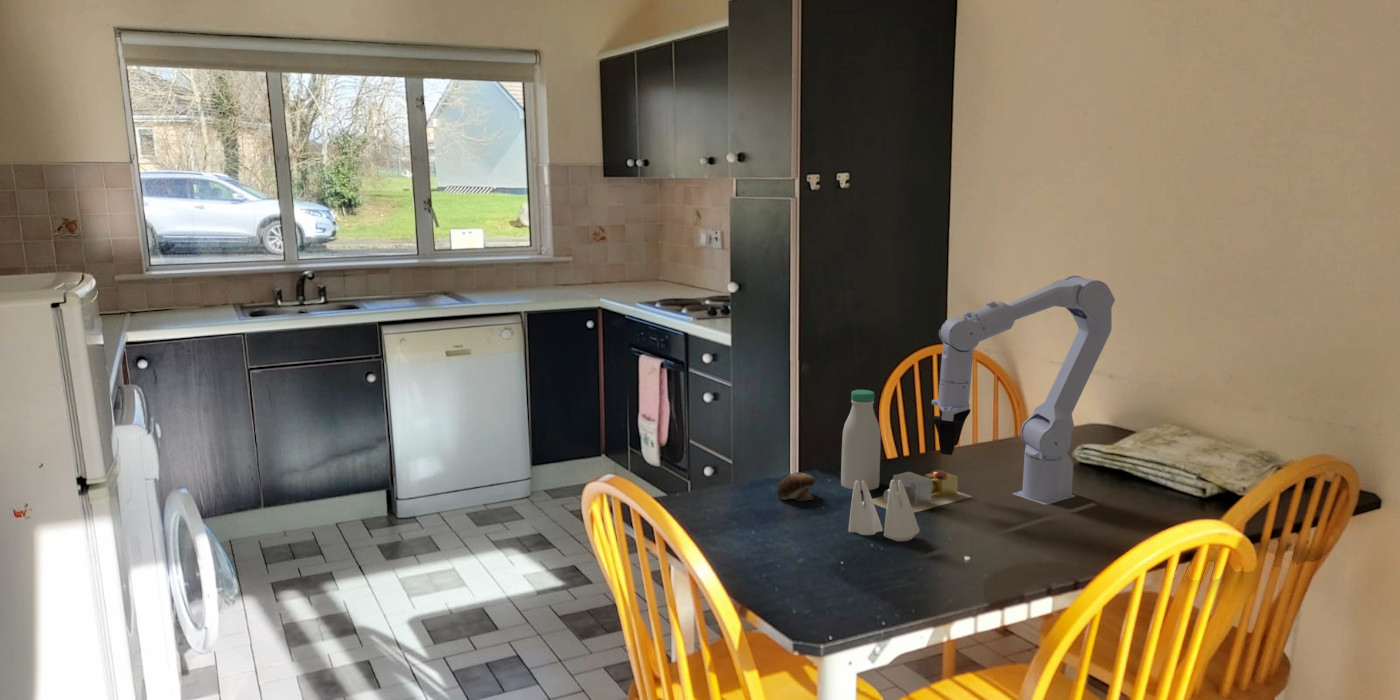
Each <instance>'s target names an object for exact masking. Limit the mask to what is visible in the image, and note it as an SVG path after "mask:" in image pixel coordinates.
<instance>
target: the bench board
mask: <svg viewBox="0 0 1400 700" xmlns="http://www.w3.org/2000/svg"><path fill="white" fill-rule="evenodd" d="M972 497H973V496H971V495H969V494H966V493H963V492H961V491H957V494H955V495H952V496H948V497H944V498H939V497H937V496H934V495H931V503H928V504H925V505H921V506H917V507H914V506H911V507H912V510H913V513H914V514H915V513H918V512H921V511H926V510H929V509H932V508H936V507H941V506H943V505H948V504H952V503H954V502H959V501H962V500H966V499H970V498H972ZM872 500H873V503H874V506H875V505H876V506H878V507H880V508H883V509H887V504H886V502H885V501H884V498H883V495H881V496H878V497H874V498H872Z"/></svg>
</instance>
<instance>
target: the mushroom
mask: <svg viewBox="0 0 1400 700" xmlns="http://www.w3.org/2000/svg"><path fill="white" fill-rule="evenodd" d="M815 483H816V480H815V478H814V477H813V475H810V474H808V473H805V472H793V473H791V474H789V475H787V476H786V477H784V478H783V479H782V480H781V481H780V483H779V484H778V486H777V496H778V498H779V499H780V500H782V501H783V500H784V501H785V500H789V499H791V500H792V499H793V500H796V501H798V502H800V501H801V502H803V501H812V500H814V499H815V498H814V496H813V495H812V494H811V493H810V492H809V489H810V488H811V487H813V486H814V485H815Z"/></svg>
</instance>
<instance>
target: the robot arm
mask: <svg viewBox="0 0 1400 700" xmlns="http://www.w3.org/2000/svg"><path fill="white" fill-rule="evenodd" d="M1115 301H1116V299H1115V297H1114V295H1113V293H1112V291H1111V289H1110V287H1109V286H1108V284H1107V283H1105V282H1104V281H1102V280H1098V279H1096V280H1094V279H1091V278H1086V277H1083V276H1080V275H1069V276H1067V277H1065V278H1064V279H1058V280H1054V282H1052V283H1050V284H1048V285H1046V286H1044V287H1042V288H1040V289H1039V288H1038V289H1037V290H1036V291H1033V292H1031V293H1029V294H1027V295H1025V296H1023V297H1020V298H1018V299H1016V300H1014V301H1012V302H1009V303H1008V304H1007V303H1005V302H1002V301H994V300H990V301H987V302H986V306H983V307H981V308H979V309H976V310H974V311H968V310H967V311H965V312H963V315H962V317H958V316H952V317H949V318H948V319H946V320H945V321H944V323H942V325H941V327H940V329H939V330H938V336H939V339H940V340H941V342H942V354H941V361H940V362H941V363H940V373H939V376H940V377H939V386H938V398H937V399H932V400H931V405H932V406H936V407H937V408H938V409H939V410H940V413H941V416H940V415H934V416H933V419H932V421H933V424H934V426H935V428H936V432H937V437H938V445H939V452H940V455H946V456H952V455H953V453H954V451H955V447H956V446H958V444H959V443H960V438H961V434H962V431H963V427H964V425H965V422H966V419H967V418H968V416H969V414H970V413H971V409H970V393H971V392H970V391H971V383H972V382H971V381H972V371H973V370H972V369H973V361H974V360H973V356H974V350H975V349H976V348H977V346H978V345H979V343H980V342H982V341H984V340H987V339H990V338H992V337H995V336H997V335H999V334H1002V333H1005V332H1006V331H1009V330H1011V329H1012V328H1013V326H1014V324H1015V321H1017V320H1019V319H1022V318H1025V317H1028V316H1031V315H1033V314H1036V313H1038V312H1039V313H1040V312H1041V311H1044V310H1045V311H1046V310H1047V309H1050V308H1053V307H1060V308H1065V309H1066V310H1068V312H1069V313H1070V314H1071V315H1072V318H1073V319H1074V321H1075V323H1076V326H1077V327H1078V331H1077V333H1076V335H1075V337H1074V339H1073V341H1072V343H1071V346H1070V347H1069V350H1068V352H1067V354H1066V356H1065V358H1064V360H1063V363H1062V365H1061V367H1060V368H1059V369H1060V370H1059V371H1058V372H1057V375H1056V377H1055V380H1054V381H1053V384H1052V386H1051V388H1050V390H1049V392H1048V394H1047V396H1046V398H1045V400H1044V402H1043V403H1041V404H1039V405H1038V406H1037V407H1035V408H1034V410H1033V412H1032V414H1031V415H1030V416H1029V417H1028V418H1027V419H1025V421H1024V422H1022V425H1021V427H1020V438H1021V440H1022V441H1023V442H1024V444H1025V449H1024V458H1023V459H1024V460H1023V472H1022V473H1023V474H1022V475H1023V476H1022V489H1021V490H1019V491H1016V492H1013V493H1012V494H1013V495H1014V496H1018V497H1020V498H1024V499H1026V500H1029V501H1033V502H1035V503H1039V504H1042V505H1045V506H1047V505H1051V504H1054V503H1056V502H1060V501H1065V500H1067V499H1068V500H1069V499H1070V498H1071V499H1072V498H1074V497H1076V495H1075V494H1073V493H1072V491H1073V488H1072V487H1073V475H1074V464H1073V461H1072V458H1071V457H1070V456H1069V455H1068V454H1067V453H1068V452H1069V450H1070V448H1071V446H1072V434H1073V432H1074V429H1075V424H1074V418H1073V413H1074V410H1075V409H1076V406H1077V403H1078V402H1079V399H1080V397H1081V396H1082V393H1083V391H1084V389H1085V387H1086V385H1087V383H1088V381H1089V378H1090V377H1091V374H1092V372H1093V370H1094V368H1095V366H1096V364H1097V362H1098V360H1099V357H1100V355H1101V354H1102V351H1103V350H1104V347H1105V346H1106V343H1107V342H1108V338H1109V337H1110V335H1111V332H1112V318H1113V317H1112V312H1113V311H1112V308H1113V305H1114V303H1115Z"/></svg>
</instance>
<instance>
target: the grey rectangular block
mask: <svg viewBox="0 0 1400 700" xmlns="http://www.w3.org/2000/svg"><path fill="white" fill-rule="evenodd" d="M892 480H895V483H896V488H897V492H898V493H899V487H898V480H901V481H902V483H903V485H904V488H905V490H906V493H907V496H908V499H909V501H910V504H911V506H914V507H917V506H921V505H925V504H928V503H931V489H932V479H929V478H926V477H925V476H922V475H920V474H917V473H914V472H911V471H906V472H901V473H896V474H893V475H892ZM888 494H889V488H888V489H886V490H884V492H883V495H882V496H883V498H884V501H885V502H886V504H887V501H888Z"/></svg>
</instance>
